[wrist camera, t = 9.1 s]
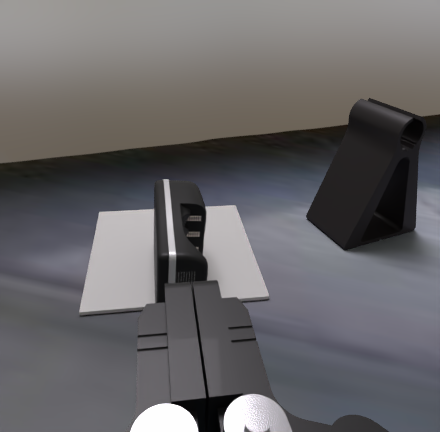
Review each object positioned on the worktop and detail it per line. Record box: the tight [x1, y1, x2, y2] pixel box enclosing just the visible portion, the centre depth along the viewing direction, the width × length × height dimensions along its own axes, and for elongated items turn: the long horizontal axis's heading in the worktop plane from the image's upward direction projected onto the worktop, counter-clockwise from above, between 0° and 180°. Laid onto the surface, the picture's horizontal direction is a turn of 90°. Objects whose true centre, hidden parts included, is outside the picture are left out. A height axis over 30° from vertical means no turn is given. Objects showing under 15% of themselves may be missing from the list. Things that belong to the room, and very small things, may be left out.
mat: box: [79, 205, 269, 315], centre depth 35 cm, size 14×14×1 cm
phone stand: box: [306, 98, 426, 250], centre depth 37 cm, size 9×6×12 cm, turn 114°
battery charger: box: [154, 179, 208, 303], centre depth 30 cm, size 7×4×11 cm
